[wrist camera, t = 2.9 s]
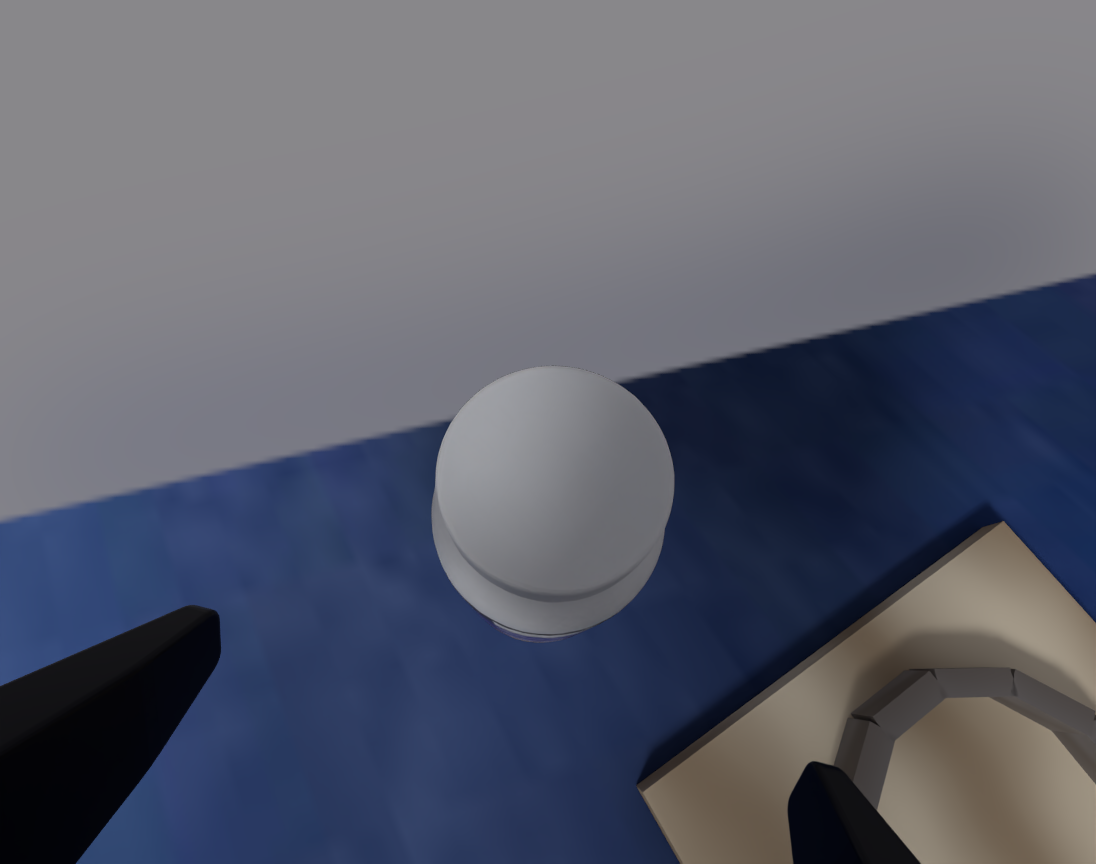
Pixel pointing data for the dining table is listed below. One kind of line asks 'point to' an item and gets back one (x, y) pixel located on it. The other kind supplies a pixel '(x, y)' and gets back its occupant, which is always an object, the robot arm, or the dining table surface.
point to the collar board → (917, 725)
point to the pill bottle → (551, 501)
